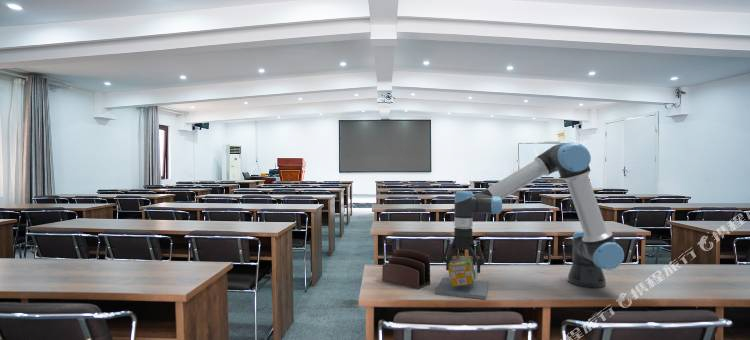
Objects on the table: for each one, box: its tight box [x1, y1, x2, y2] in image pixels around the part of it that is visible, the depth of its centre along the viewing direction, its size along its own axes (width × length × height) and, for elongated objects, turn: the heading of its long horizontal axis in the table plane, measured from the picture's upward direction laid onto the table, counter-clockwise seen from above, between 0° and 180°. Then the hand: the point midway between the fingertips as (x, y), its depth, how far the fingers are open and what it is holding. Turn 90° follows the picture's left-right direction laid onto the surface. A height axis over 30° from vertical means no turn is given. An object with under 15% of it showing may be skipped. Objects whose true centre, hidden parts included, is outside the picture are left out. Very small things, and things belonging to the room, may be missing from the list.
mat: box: [434, 277, 489, 300], centre depth 171 cm, size 20×20×2 cm
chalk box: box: [447, 256, 475, 287], centre depth 170 cm, size 9×9×15 cm
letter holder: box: [381, 248, 431, 290], centre depth 181 cm, size 10×20×14 cm, turn 51°
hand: (462, 279), depth 171 cm, fingers closed on chalk box, 10 cm apart
